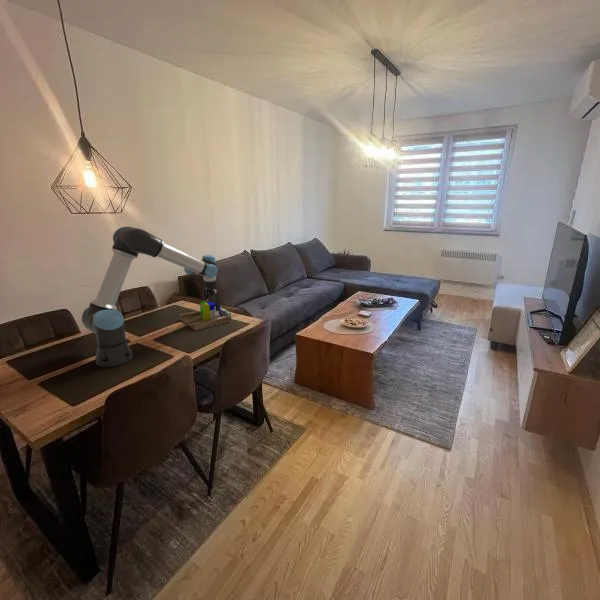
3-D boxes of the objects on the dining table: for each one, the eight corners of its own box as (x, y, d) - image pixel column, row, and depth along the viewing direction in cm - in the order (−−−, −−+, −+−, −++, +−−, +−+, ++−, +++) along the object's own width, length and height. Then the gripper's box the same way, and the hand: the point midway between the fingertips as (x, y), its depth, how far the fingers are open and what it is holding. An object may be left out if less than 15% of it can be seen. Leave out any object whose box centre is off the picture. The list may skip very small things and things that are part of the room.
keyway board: (231, 321, 207) (230, 312, 205) (195, 330, 192) (194, 320, 190) (214, 312, 223) (214, 303, 221) (180, 320, 207) (179, 310, 206)
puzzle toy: (220, 319, 208) (219, 304, 205) (204, 321, 203) (203, 306, 200) (216, 314, 216) (215, 299, 213) (200, 316, 211) (199, 301, 208)
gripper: (225, 283, 196) (226, 316, 202) (206, 275, 214) (208, 306, 220) (214, 285, 191) (215, 319, 197) (195, 277, 209) (197, 308, 215)
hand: (211, 312), depth 209 cm, fingers open, 13 cm apart
